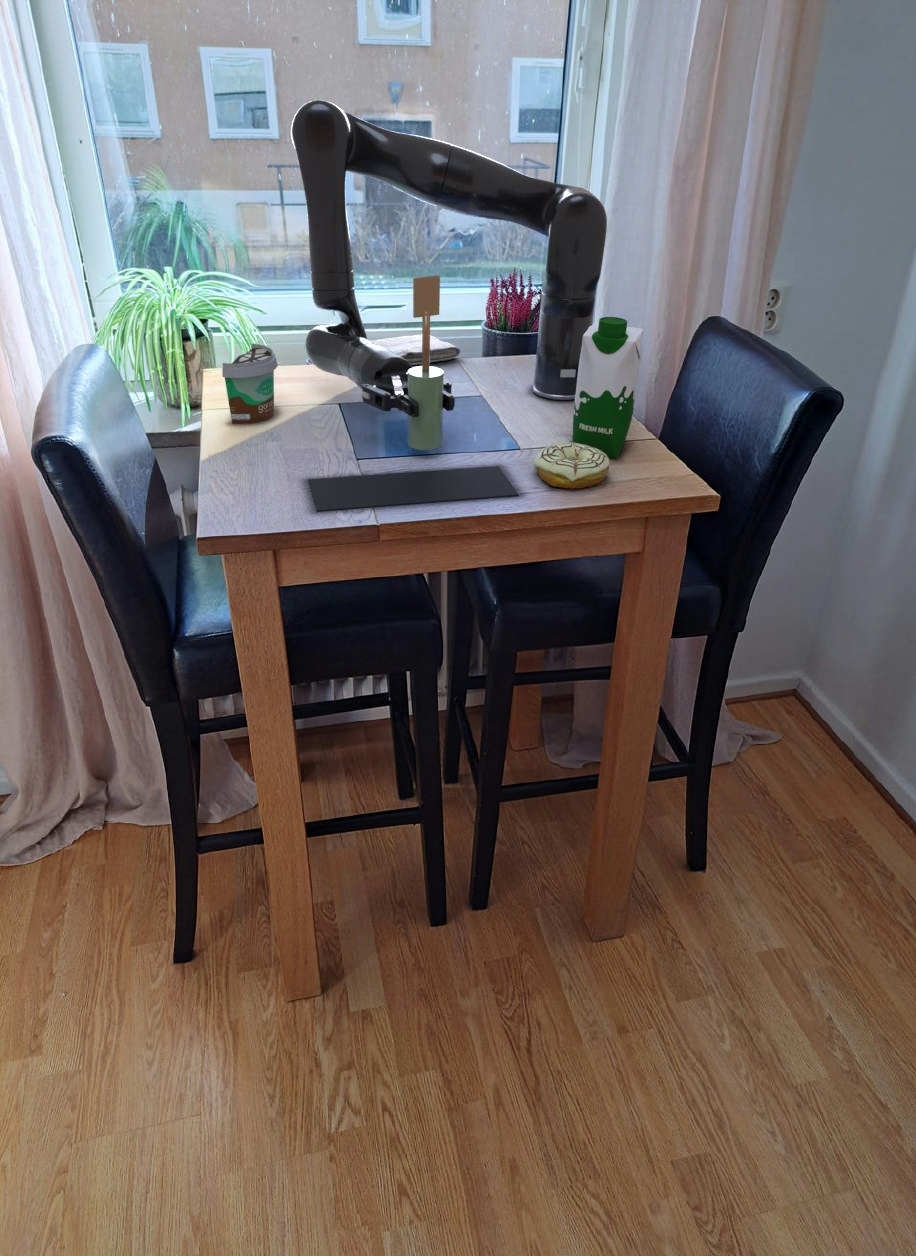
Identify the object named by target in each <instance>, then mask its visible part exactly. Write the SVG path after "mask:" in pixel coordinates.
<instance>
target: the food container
mask: <svg viewBox="0 0 916 1256" xmlns="http://www.w3.org/2000/svg"><path fill="white" fill-rule="evenodd" d="M250 348H251V349H250V350H249V351H248V352H246V353H243V354H239V355H238V356H237V357H236V358H235V359H234V360H233V361H232V362H231V363H228V362H222V372H221V373H222V378H224V382H225V389H226V396H227V401H228V406H229V413H230V419H231V424H236V425H248V424H249V425H250V424H257V423H258V424H259V423H261V422H265V421H268V420H271V418H273V416H274V415H275V370H276V369H277V368H278V366H279V365H278V360H277V357H276V355H275V353H274V351H273V349H272V348H271V347H269V346H267V345H264V344H260V343H253V342H251V343H250Z"/></svg>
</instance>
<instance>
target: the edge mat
mask: <svg viewBox="0 0 916 1256" xmlns="http://www.w3.org/2000/svg"><path fill="white" fill-rule="evenodd" d="M307 481H308V483H309V484H308V485H309V487H310V491H311V494H312V499H313V502H314V506H315V510H316V512H329V511H341V510H342V511H343V510H353V509H354V510H355V509H367V508H380V507H391V506H405V505H417V504H430V503H431V504H432V503H442V502H443V503H444V502H454V501H457V502H458V501H470V500H480V499H481V500H482V499H483V500H484V499H493V498H494V499H496V498H507V497H519V495H520V494H519V493H518V491H517V489H516V488H515V487H514V486H513V484H512V483H511V481H510V480H509V479H508V477H507V476H506V475H505V473H504V472H503V470H502V469H501V468H500V466H499V465H495V466H494V465H493V466H481V467H480V466H479V467H469V468H468V467H464V468H453V469H452V468H451V469H438V470H437V469H436V470H435V469H434V470H423V471H409V472H408V471H407V472H393V473H380V474H366V475H353V476H352V475H350V476H337V477H323V478H310V479H309V478H308V480H307Z"/></svg>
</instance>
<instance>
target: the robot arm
mask: <svg viewBox="0 0 916 1256" xmlns="http://www.w3.org/2000/svg"><path fill="white" fill-rule="evenodd" d="M290 136H291V141H292V144H293V147H294V151H295V154H296V158H297V163H298V166H299V170H300V171H299V172H300V175H301V180H302V185H303V191H304V198H305V206H306V215H307V231H308V232H307V233H308V249H309V251H308V252H309V267H310V280H311V281H310V282H311V292H312V293H311V295H312V300H313V304H314V305H315V307H316V308H318V309H320V310H324V311H329V312H330V311H331V312H336V313H337V314H338V316H339V319H340V322H339V323H329V324H321V325H317V326H315V327H313V328H312V329H310V330H309V331H308V333H307V335H306V337H305V342H304V345H305V347H304V348H305V352H306V355H307V357H308V359H309V361H310V362H311V363H312V364H313V365H314V367H316V368H317V369H318V370H320V371H323V372H326V373H329V374H332V375H336V376H341V377H346V378H347V379H349V380H350V381H352V382H353V383H355V385H357V387H358V388H360V389H361V393H362V396H361V397H362V403H365V404H367V405H369V406H372V407H374V408H376V409H379V410H380V411H382V412H387V413H388V412H391V411H392V409H395V411H397V412H403V413H404V414H406V415H407V416H408V415H410V416H412V417H413V418H414V417H418V416H419V404H418V402H417V401H415V400H414V399H412V398H410V397H409V396H408V370H409V369H410V368H413V367H414V366H413V365H411V364H410V363H409V362H408V361H407V360H405V359H404V358H402V357H400V356H399V355H397V354H395V353H394V352H392V351H390V350H388V349H387V348H385V347H382V346H379V345H377V344H375V343H373V342H372V340H370V339H368V335H367V333H366V332H367V331H366V328H365V327H364V324H363V320H362V317H361V314H360V310H359V306H358V302H357V298H356V293H355V275H354V261H353V251H352V243H351V236H350V229H349V221H348V214H347V199H346V197H347V195H346V184H347V183H346V181H347V180H346V179H347V173H352V174H355V175H360V176H364V177H368V178H371V179H374V180H377V181H380V182H382V183H384V184H386V185H388V186H390V187H392V188H394V189H395V190H397V191H400V192H402V193H404V194H405V195H408V196H410V197H411V198H414V199H417V200H419V201H420V202H424V203H426V204H429V205H431V206H434V207H435V206H436V208H440V209H442V210H445V211H449V212H452V213H455V214H459V215H462V216H469V217H473V218H480V219H485V220H486V219H487V220H495V221H496V220H497V221H505V222H510V223H514V224H517V225H520V226H522V227H525V228H528V229H530V230H532V231H535V232H537V233H539V234H541V235H544V236H546V237H547V238H548V244H547V254H546V264H545V270H544V273H543V276H542V283H541V296H540V307H539V317H538V318H539V320H538V332H537V343H536V354H535V365H534V366H535V367H534V378H533V384H532V392H533V393H534V394H535V395H537V396H539V397H541V398H545V399H549V400H554V401H571V400H572V401H573V400H575V395H576V386H577V377H578V368H579V361H580V354H581V348H582V339H583V335H584V334H585V332H586V331H587V330H588V328H589V327H590V326H592V325H593V324H594V322H593V321H594V312H595V303H596V295H597V288H598V284H599V281H600V279H601V273H602V268H603V263H604V262H603V260H604V253H605V246H606V238H607V232H608V230H607V229H608V216H607V212H606V209H605V206H604V205H603V203H602V202H601V201H600V199H598V197H596V195H594V194H593V193H592V192H591V191H589V190H587V189H585V187H580V186H573V185H568V184H563V183H559V182H553V181H549V180H545V179H540V178H537V177H533V176H529V175H526V174H525V173H521V172H519V171H517V170H516V169H513V168H511V167H509V166H507V165H505V164H504V163H501V162H499V161H497V160H494V159H492V158H490V157H487V156H485V155H482V154H480V153H478V152H475V151H473V150H470V149H466V148H464V147H461V146H458V145H455V144H452V143H449V142H445V141H443V140H437V139H434V138H431V137H426V136H421V135H415V134H411V133H404V132H398V131H393V130H389V129H386V128H383V127H380V126H378V125H376V124H373V123H371V122H370V121H369V122H368V121H366V120H364V119H362V118H360V117H358V116H356V115H353V114H352V113H349V112H347V111H345V110H344V109H342V108H340V107H339V106H338V105H336V104H334V103H333V102H329V101H327V100H323V99H316V100H311V101H310V100H309V101H308V102H306V103H304V104H303V105H301V107H299V109H298V110H297V112H296V113H295V115H294V117H293V120H292V123H291V129H290ZM452 386H453V384H452V382H451V381H450V380H449V379H448V378H447V377H446V376H445V375H444V387H443V410H446V411H447V412H450V411H451V412H452V411H454V409H455V405H456V403H455V401H456V397H455V395H453V394H452Z"/></svg>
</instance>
